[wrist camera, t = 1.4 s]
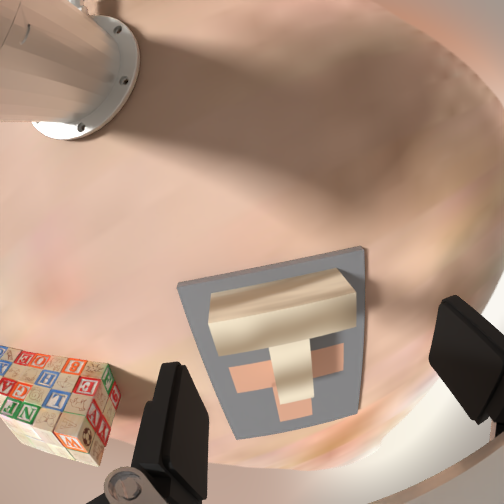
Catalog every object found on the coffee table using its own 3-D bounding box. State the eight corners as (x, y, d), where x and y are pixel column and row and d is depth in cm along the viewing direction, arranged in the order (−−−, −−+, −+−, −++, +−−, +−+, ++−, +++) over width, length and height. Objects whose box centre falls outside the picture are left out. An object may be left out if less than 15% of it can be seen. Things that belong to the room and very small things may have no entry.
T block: (211, 293, 27) (208, 323, 22) (336, 267, 27) (356, 292, 22) (236, 378, 31) (238, 411, 26) (339, 356, 31) (353, 386, 26)
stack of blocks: (13, 374, 31) (-20, 424, 20) (-3, 343, 29) (-42, 393, 18) (122, 395, 33) (100, 469, 21) (109, 361, 31) (77, 439, 19)
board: (178, 282, 27) (176, 287, 26) (359, 245, 27) (364, 249, 26) (236, 434, 37) (236, 439, 36) (355, 408, 37) (357, 413, 36)
